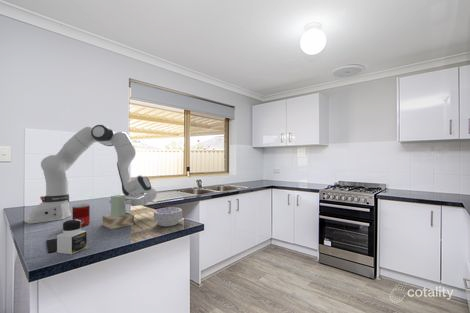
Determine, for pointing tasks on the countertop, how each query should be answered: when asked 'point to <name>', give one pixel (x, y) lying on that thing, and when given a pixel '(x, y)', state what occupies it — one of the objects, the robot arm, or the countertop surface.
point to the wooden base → (118, 221)
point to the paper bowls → (167, 216)
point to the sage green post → (117, 205)
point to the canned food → (81, 213)
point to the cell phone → (52, 245)
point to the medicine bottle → (71, 238)
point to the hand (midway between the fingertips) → (116, 202)
